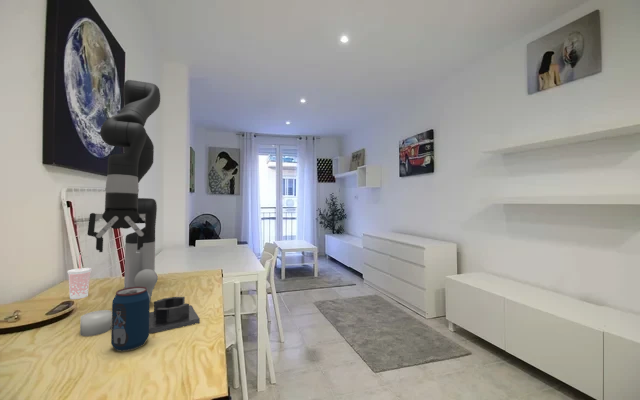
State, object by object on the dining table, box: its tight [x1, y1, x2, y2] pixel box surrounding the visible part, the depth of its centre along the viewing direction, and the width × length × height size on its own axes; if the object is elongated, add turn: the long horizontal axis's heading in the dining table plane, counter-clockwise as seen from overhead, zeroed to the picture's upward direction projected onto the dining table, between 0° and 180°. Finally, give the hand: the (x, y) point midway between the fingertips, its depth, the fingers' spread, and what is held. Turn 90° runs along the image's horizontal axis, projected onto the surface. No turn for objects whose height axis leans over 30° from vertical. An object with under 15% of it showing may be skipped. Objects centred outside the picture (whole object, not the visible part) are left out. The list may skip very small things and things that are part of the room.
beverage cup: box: [67, 254, 92, 300], centre depth 95 cm, size 6×6×14 cm
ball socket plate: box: [149, 296, 201, 335], centre depth 76 cm, size 12×12×5 cm
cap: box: [79, 309, 112, 337], centre depth 70 cm, size 6×6×4 cm
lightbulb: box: [134, 269, 158, 303], centre depth 87 cm, size 6×6×11 cm
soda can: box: [110, 287, 151, 352], centre depth 63 cm, size 7×7×12 cm
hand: (120, 250), depth 78 cm, fingers open, 8 cm apart
